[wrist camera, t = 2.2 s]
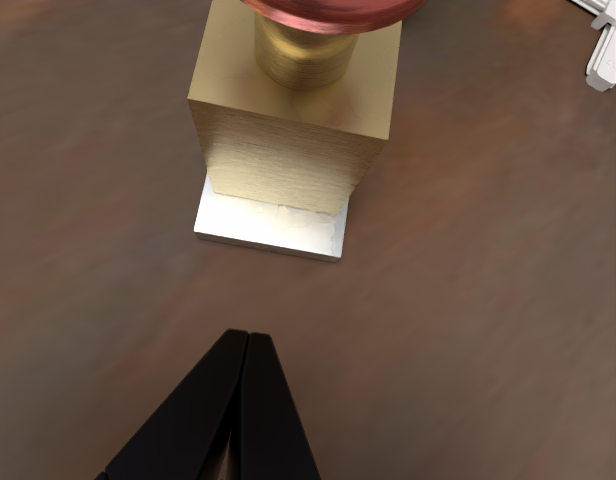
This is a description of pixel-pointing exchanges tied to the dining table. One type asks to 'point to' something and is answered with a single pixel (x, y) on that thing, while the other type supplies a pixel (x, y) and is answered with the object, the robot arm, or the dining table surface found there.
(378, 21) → the valve
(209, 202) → the grey ball socket brick
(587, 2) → the corner connector
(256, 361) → the robot arm
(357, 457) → the dining table surface
